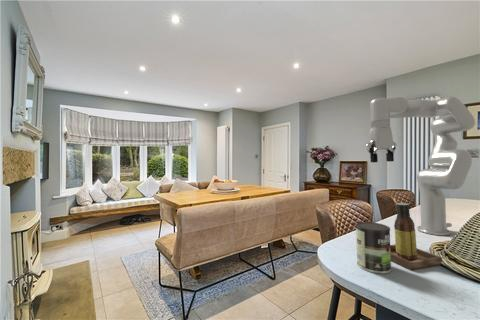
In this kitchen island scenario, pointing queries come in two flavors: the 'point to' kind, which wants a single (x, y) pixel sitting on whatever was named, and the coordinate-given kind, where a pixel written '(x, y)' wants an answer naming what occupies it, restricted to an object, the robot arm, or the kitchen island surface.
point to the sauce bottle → (405, 233)
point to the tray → (420, 262)
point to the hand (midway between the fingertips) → (382, 161)
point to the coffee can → (373, 247)
